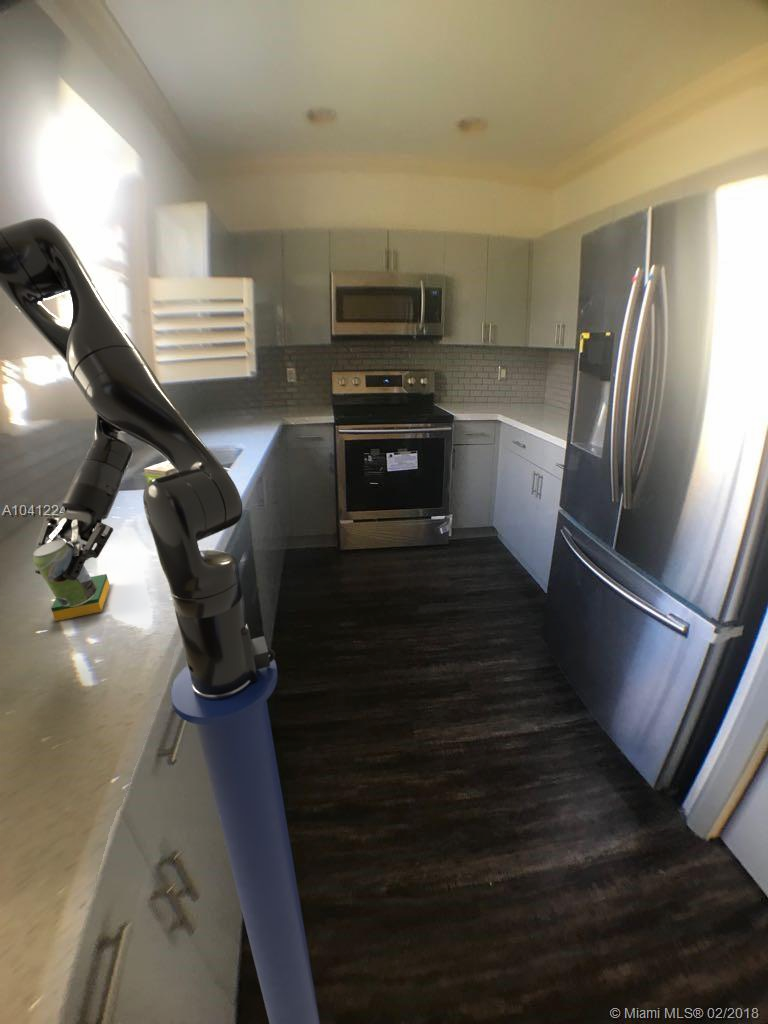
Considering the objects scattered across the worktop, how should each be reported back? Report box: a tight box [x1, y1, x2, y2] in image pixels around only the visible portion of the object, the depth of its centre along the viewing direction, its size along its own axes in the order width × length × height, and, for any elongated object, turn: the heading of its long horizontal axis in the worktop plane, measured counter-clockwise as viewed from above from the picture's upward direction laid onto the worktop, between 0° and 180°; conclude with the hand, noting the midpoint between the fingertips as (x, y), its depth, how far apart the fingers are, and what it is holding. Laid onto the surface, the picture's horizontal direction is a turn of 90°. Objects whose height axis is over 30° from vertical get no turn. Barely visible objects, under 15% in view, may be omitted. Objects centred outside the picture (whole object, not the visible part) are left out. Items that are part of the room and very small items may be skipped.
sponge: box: [50, 573, 111, 622], centre depth 95 cm, size 8×11×3 cm
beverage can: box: [33, 540, 97, 607], centre depth 81 cm, size 6×7×12 cm
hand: (55, 576), depth 80 cm, fingers closed on beverage can, 5 cm apart
